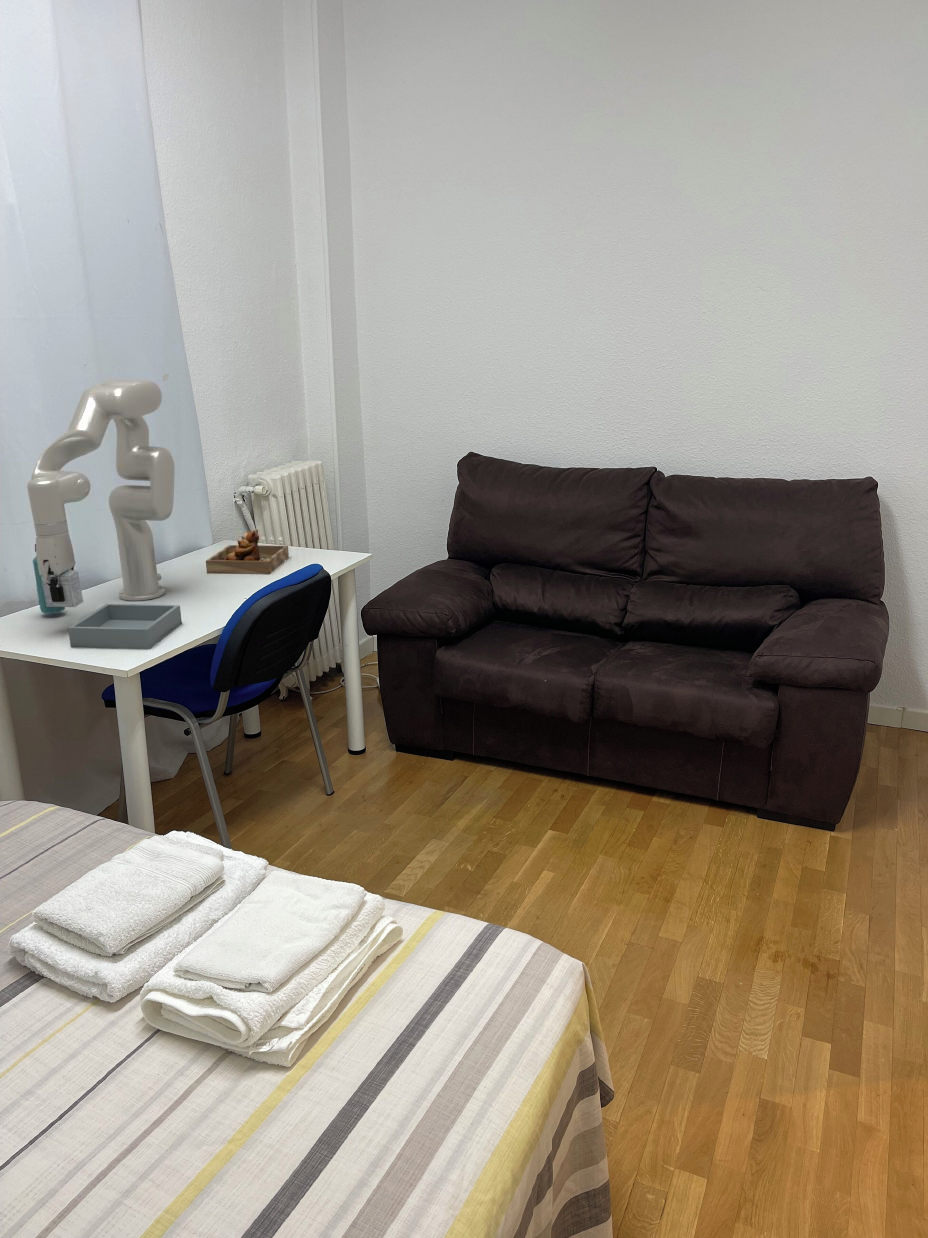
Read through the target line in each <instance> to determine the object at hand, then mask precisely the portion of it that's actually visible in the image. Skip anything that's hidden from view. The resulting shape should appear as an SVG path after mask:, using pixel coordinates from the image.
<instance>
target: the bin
mask: <svg viewBox="0 0 928 1238" xmlns="http://www.w3.org/2000/svg"><path fill="white" fill-rule="evenodd" d="M182 622H183V621H182V613H181V605H180V604H144V603H143V604H140V603H139V604H138V603H135V604H134V603H105V604H104V605H102V606H101V607H99V608H98V609H96V610H94V611H93V612H91V613H89V614H88V615H86V616H84V617H83V618H82V619H79V620H78V621H77V622H75V623H73V624H71V625H70V626H68V627H67V631H68V637H69V644H70V648H79V649H80V648H81V649H84V648H85V649H87V648H89V649H123V650H124V649H127V650H129V649H130V650H131V649H133V650H151V649H152V648H153V647H155V645H156V644H158V643H159V642H161V640H163V639H164V638H165V637H167V636H168V635H170V634H171V633H172V632H173V631H174V630H176V629H177V628H178V627H179V626H181V625H182V624H183V623H182Z"/></svg>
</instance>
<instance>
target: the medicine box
mask: <svg viewBox="0 0 928 1238" xmlns="http://www.w3.org/2000/svg"><path fill="white" fill-rule="evenodd" d="M51 574H54V572H51ZM52 579H54V580H55V581H56V577H52ZM41 580H42V576H41ZM60 584H61V586H62V587H63V592H64V598H65V601H64V602H52V599H51V593H50V588H49V587H48V584H47V583H46V582H44V581H43V580H42V585H43V590H44V596H45V601H46V606H47V607H65V608H76V607H77V606H79V605H81V604H83V603H84V597H83V596H84V595H83V592H82V587H81V581H80V576H79V571H78V570H77V569H76V570H75V569H74V570H67V571H65V572H64V573H62V574H60Z"/></svg>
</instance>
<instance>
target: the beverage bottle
mask: <svg viewBox="0 0 928 1238" xmlns="http://www.w3.org/2000/svg"><path fill="white" fill-rule="evenodd" d="M34 551H35V552H36V543H35V544H34ZM32 566H33V571H34V576H35V582H36V583H35V584H36V592H37V598H38V605H39V610H40V611H41V613H43V614H55V613H60V612H63V611H64V610H65V609H66V607H47V606H46V601H45V596H44V590H43V585H42V580H41V575H40V574H39V570H38V564H37V555H36V556H35V557H34V558H33V559H32Z"/></svg>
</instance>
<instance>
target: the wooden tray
mask: <svg viewBox="0 0 928 1238" xmlns="http://www.w3.org/2000/svg"><path fill="white" fill-rule="evenodd" d="M236 546H237V544H231V545H230V544H228V545H227V546H226V547H224V548H222V549H221V550H219V551H218V552H216V553H215V554H214V555H212V556H211V557H209V558H208V559H207V560H205V567H206V574H215V575H217V574H219V575H221V574H223V575H224V574H225V575H226V574H227V575H232V574H233V575H270V574H272V573H273V572H274V571H275V570H277V568H279V567H280V566H281V565H282V564H283V563H285V562H286V561H287V560H288V559H289V558H290V557H289V556H290V555H289V545H262V544H261V545H259V544H258V549H259V554H260V557H266V558H268V559H267V560H266V561H236V560H224V559H225V558H226V556H228V554H230V553H233V552H234V551H235V548H236ZM285 560H286V561H285ZM278 566H279V567H278ZM272 571H273V572H272ZM271 572H272V573H271Z"/></svg>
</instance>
